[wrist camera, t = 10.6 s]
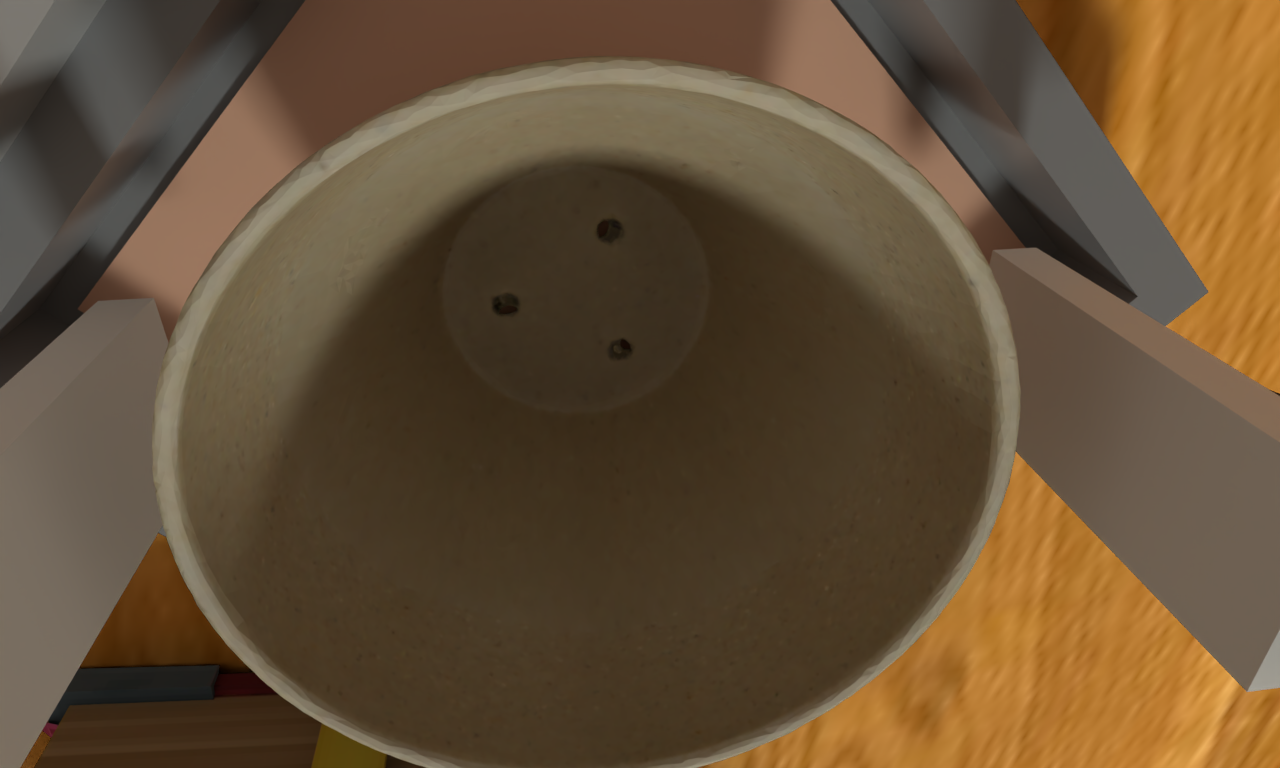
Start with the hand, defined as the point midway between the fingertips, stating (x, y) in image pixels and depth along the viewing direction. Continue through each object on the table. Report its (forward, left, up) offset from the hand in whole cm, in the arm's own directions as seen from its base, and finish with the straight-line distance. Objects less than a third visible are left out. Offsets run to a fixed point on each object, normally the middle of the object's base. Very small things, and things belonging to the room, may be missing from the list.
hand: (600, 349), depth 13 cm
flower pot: (0, 0, -3) cm, 3 cm away
